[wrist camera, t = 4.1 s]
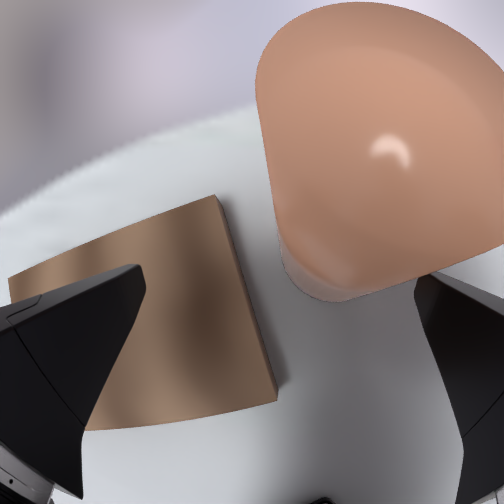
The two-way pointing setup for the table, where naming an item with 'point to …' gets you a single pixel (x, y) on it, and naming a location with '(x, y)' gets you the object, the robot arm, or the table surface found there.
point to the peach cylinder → (379, 147)
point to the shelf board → (172, 319)
